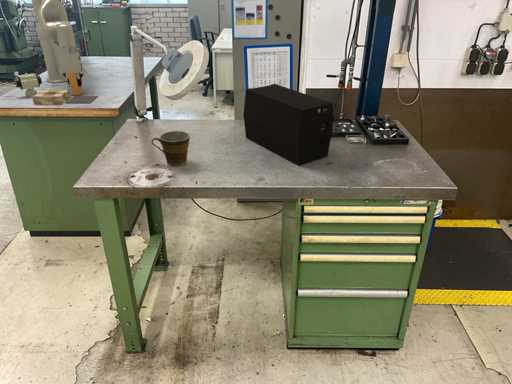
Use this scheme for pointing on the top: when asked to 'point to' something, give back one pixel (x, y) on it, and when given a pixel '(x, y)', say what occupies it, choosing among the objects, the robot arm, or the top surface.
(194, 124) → the top surface
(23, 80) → the pneumatic valve
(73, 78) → the peg
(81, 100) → the rubber pad
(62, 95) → the socket block
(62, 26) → the robot arm
